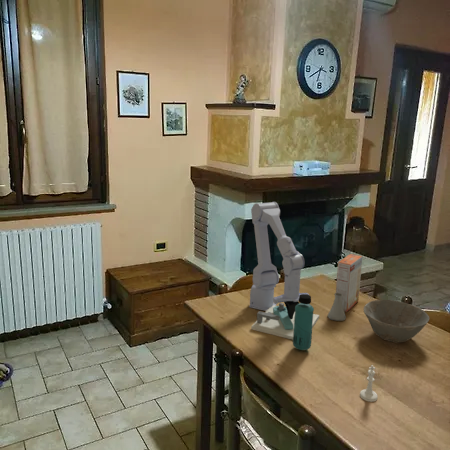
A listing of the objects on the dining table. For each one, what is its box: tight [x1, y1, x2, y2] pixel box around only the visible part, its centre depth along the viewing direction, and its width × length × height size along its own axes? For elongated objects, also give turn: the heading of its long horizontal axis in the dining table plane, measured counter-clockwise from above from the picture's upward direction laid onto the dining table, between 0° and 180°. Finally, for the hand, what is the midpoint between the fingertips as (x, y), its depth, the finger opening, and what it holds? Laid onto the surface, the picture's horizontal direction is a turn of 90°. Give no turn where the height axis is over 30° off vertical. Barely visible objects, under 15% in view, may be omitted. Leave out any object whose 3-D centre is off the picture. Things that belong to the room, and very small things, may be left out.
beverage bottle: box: [292, 294, 315, 351], centre depth 150 cm, size 6×7×20 cm
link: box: [273, 305, 293, 329], centre depth 172 cm, size 17×6×2 cm, turn 5°
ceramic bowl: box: [363, 299, 430, 343], centre depth 162 cm, size 22×23×10 cm
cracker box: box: [335, 253, 363, 313], centre depth 187 cm, size 14×6×21 cm, turn 144°
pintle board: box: [250, 302, 320, 341], centre depth 171 cm, size 20×22×5 cm
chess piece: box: [359, 364, 378, 403], centre depth 127 cm, size 5×5×10 cm
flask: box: [327, 292, 347, 322], centre depth 176 cm, size 7×7×10 cm
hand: (290, 318), depth 171 cm, fingers closed, pressing on link
